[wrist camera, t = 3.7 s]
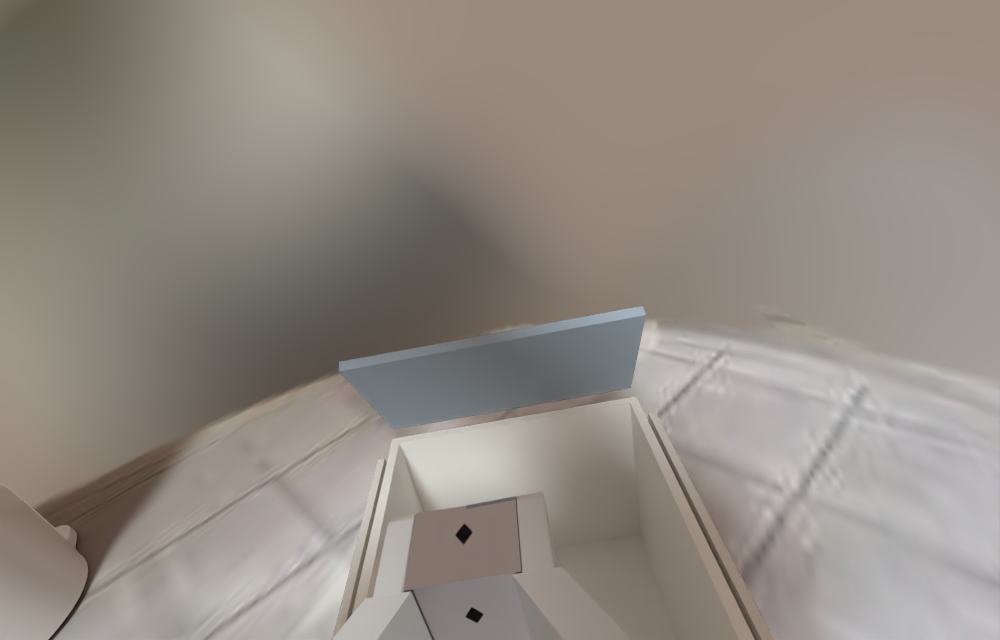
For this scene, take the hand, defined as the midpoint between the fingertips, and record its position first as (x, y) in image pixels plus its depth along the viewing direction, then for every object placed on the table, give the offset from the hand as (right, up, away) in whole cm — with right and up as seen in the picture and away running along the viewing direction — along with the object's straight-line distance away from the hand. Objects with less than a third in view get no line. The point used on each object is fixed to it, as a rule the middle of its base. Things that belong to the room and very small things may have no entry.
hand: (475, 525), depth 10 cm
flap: (+1, +1, +16) cm, 16 cm away
